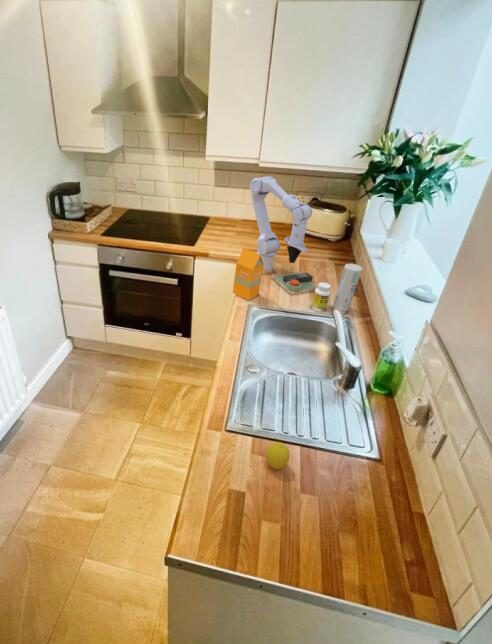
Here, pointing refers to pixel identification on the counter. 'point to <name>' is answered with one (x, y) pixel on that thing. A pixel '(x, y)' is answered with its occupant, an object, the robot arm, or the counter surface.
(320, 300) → the pill bottle
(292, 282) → the power button
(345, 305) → the spray can
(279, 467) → the lemon
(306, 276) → the remote
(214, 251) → the counter surface
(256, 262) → the orange juice
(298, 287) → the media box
